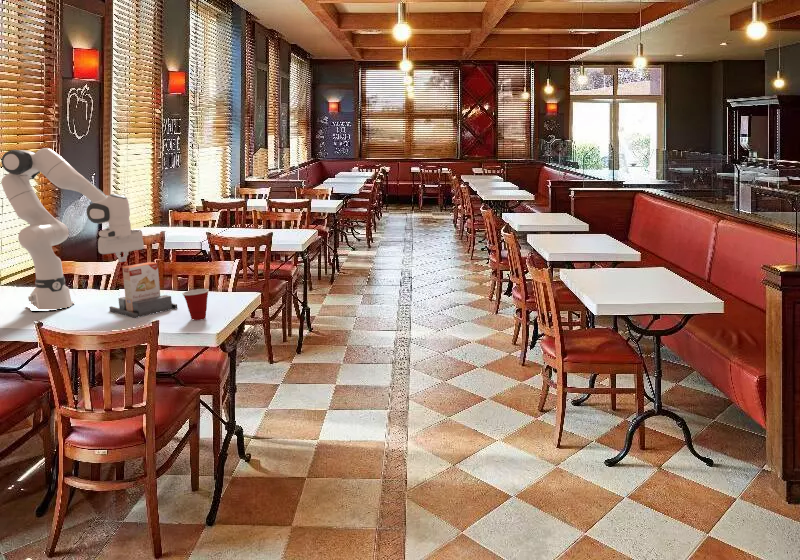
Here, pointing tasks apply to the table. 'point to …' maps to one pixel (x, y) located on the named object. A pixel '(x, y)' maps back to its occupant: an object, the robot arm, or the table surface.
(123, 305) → the block
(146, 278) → the cracker box
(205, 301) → the plastic cup
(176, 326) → the table surface
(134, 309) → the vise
